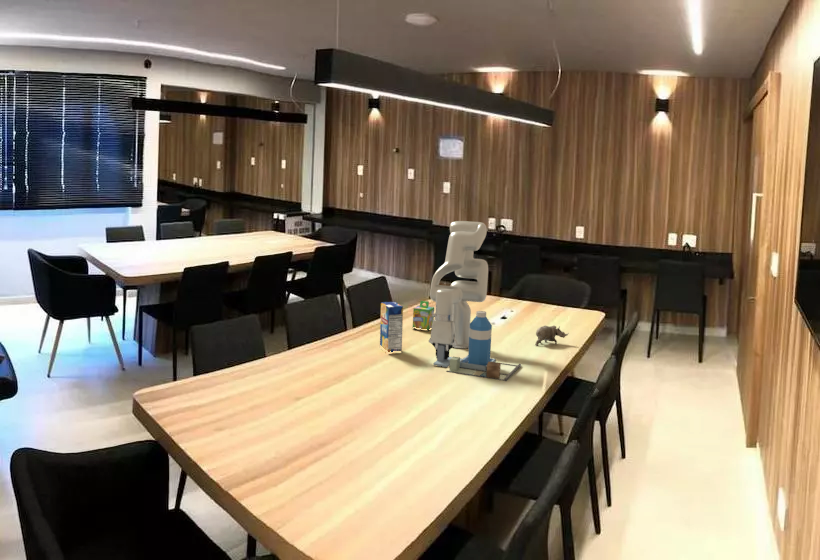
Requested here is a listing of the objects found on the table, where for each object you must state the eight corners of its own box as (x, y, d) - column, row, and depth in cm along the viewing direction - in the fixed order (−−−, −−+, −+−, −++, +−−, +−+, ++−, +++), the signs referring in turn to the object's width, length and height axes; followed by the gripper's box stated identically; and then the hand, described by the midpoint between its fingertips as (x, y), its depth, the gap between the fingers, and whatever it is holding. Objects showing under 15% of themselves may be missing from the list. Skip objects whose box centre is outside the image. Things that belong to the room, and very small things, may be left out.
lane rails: (445, 374, 281) (446, 369, 281) (463, 360, 302) (464, 355, 302) (506, 384, 271) (506, 378, 271) (520, 369, 292) (521, 363, 291)
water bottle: (478, 373, 284) (481, 315, 280) (463, 367, 291) (465, 311, 287) (494, 369, 290) (497, 312, 286) (478, 364, 297) (481, 308, 293)
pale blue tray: (433, 365, 293) (433, 347, 291) (443, 358, 304) (444, 340, 303) (486, 373, 283) (487, 354, 282) (495, 365, 295) (496, 347, 293)
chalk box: (412, 329, 355) (412, 302, 353) (417, 326, 364) (418, 299, 362) (428, 331, 353) (429, 303, 350) (434, 327, 361) (435, 300, 359)
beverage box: (387, 354, 308) (388, 307, 305) (379, 348, 318) (380, 302, 315) (401, 353, 311) (403, 306, 307) (393, 347, 321) (394, 301, 317)
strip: (448, 373, 282) (448, 359, 281) (453, 369, 288) (453, 355, 287) (472, 377, 278) (472, 362, 277) (476, 373, 283) (477, 359, 282)
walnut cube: (486, 376, 276) (487, 364, 275) (487, 373, 280) (488, 361, 280) (498, 378, 274) (499, 366, 274) (500, 374, 279) (500, 362, 278)
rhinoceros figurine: (524, 337, 336) (543, 313, 335) (543, 351, 341) (561, 328, 340) (531, 343, 329) (550, 318, 328) (550, 357, 334) (569, 333, 333)
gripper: (423, 317, 294) (421, 357, 297) (458, 321, 288) (457, 363, 291) (429, 313, 301) (428, 353, 304) (464, 317, 295) (462, 358, 298)
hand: (442, 357), depth 297 cm, fingers closed on pale blue tray, 3 cm apart
